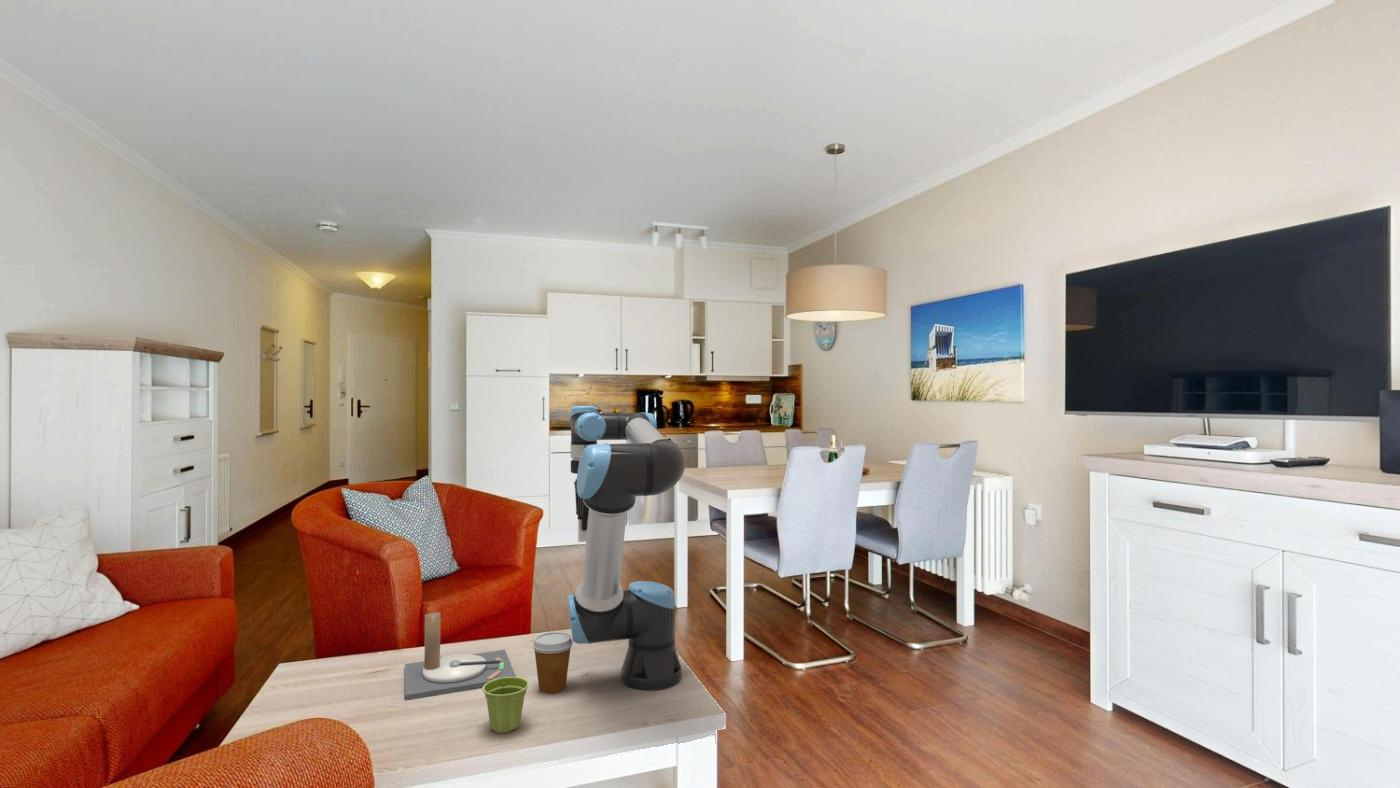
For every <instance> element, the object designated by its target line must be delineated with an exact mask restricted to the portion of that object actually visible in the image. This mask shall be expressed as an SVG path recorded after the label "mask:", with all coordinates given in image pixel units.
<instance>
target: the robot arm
mask: <svg viewBox="0 0 1400 788" xmlns="http://www.w3.org/2000/svg"><path fill="white" fill-rule="evenodd" d="M657 426H658V425H657V419H656V416H655V415H654V414H653V413H651V412H598V408H597V406H596V405H573V406H572V407H571V412H570V459H572V460H570V473H571V474H577V475H576V479H575V480H574V483H573V485H574V492H575V493H574V494H575V495H574V497H575V514H576V515H577V520H578V521H577V527H578V528H577V542H578V543H583V542H584V543H585V548H584V549H585V551H584V562H583V573H582V581H580V582H579V584H578V585H577V587H576V589H575V592H574V593H572V594H569V595H568V596H567V605H568V615H569V616H568V617H569V622H570V623H569V624H570V631H571V639H572V641H573V643H576V644H578V645H582V644H583V645H584V644H589V645H592V644H596V643H597V644H598V643H606V642H614V641H615V642H616V641H622V640H628V644H627V646H628V647H627V651H626V654H625V656H624V660H623V664H622V666H621V670H620V671H621V672H620V673H621V674H620V676H621V677H620V679H621V681H622V683H623V684H624V685H626V686H628V687H629V688H633V689H638V690H642V691H643V690H645V691H651V690H652V691H653V690H662V689H668V688H670V687H672V686H675V685H677V684H678V683H679V682H680V681H681V680H682V675H683V674H682V672H683V671H682V665H681V661H680V658H679V655H678V652H677V648H676V643H675V642H676V640H675V639H676V633H675V632H676V630H675V629H676V607H677V606H676V599H675V598H676V597H675V592H674V590H673V588H672V587H670V586H668V585H666V584H663V583H660V582H655V581H648V580H638V581H637V580H636V581H631V582H630V583H629V584H628V587H627V589H626V590H624V589H623V587H622V586H621V585H620V577H621V574H620V573H621V566H622V557H623V549H624V541H625V533H626V526H627V525H626V522H627V515H628V512H629V511H630V510H632V509H633V507H634V506H635V503H636V498H637V497H647V496H656V495H657V496H658V495H660V494H663V493H665V492H668V491H669V490H671V489H672V488H674V487H675V485H676V484H677V483H679V481H680V480H681V479H682V477H683V475H684V472H685V469H686V468H685V467H686V457H685V455H684V452H683V451H682V449H681V447H680V446H678V444H677V443H676V442H674V441H673V440H670V439H667V438H666V437H664V436H663V435H662V434H661V432H659V431H658V429H657ZM598 441H628V442H629V443H608V442H602V443H598Z"/></svg>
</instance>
